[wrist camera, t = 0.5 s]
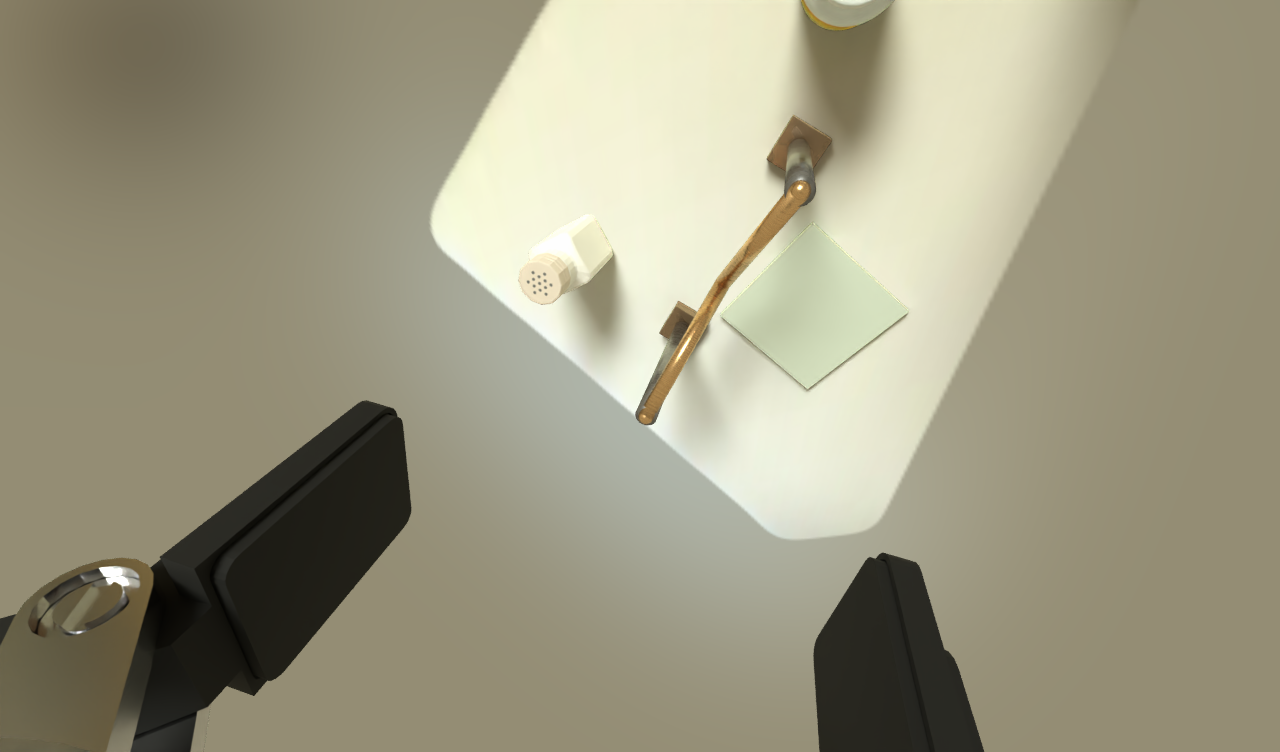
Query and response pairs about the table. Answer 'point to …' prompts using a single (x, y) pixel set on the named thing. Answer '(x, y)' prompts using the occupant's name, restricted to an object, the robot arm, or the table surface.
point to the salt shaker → (565, 260)
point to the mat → (813, 307)
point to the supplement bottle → (843, 12)
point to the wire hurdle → (737, 259)
